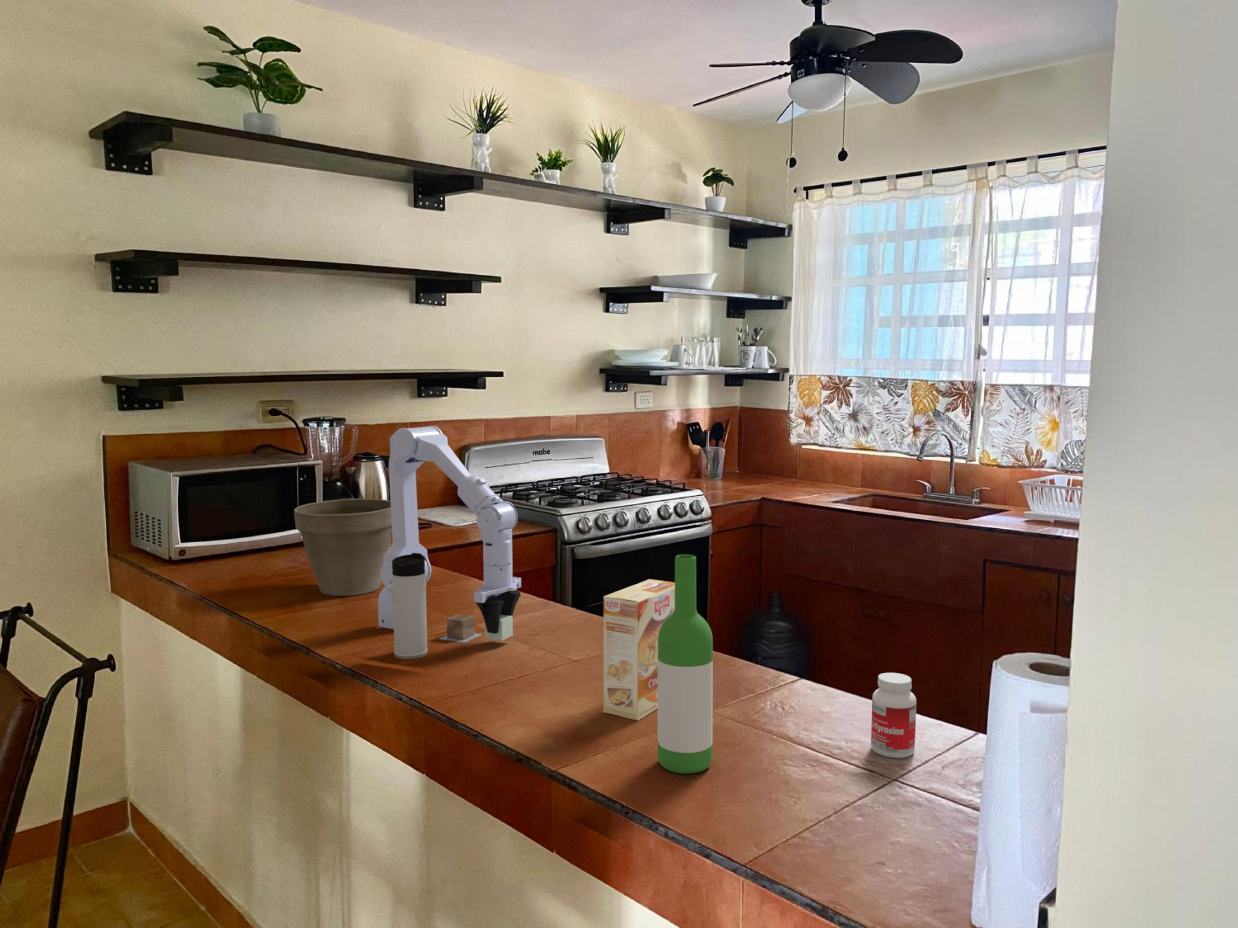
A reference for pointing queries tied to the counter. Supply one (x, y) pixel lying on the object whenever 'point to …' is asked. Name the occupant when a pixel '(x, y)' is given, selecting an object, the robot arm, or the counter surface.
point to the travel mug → (409, 606)
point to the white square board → (461, 640)
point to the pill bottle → (893, 716)
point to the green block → (502, 629)
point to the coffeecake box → (634, 646)
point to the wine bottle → (685, 679)
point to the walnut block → (460, 627)
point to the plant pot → (346, 543)
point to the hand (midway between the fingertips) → (498, 629)
